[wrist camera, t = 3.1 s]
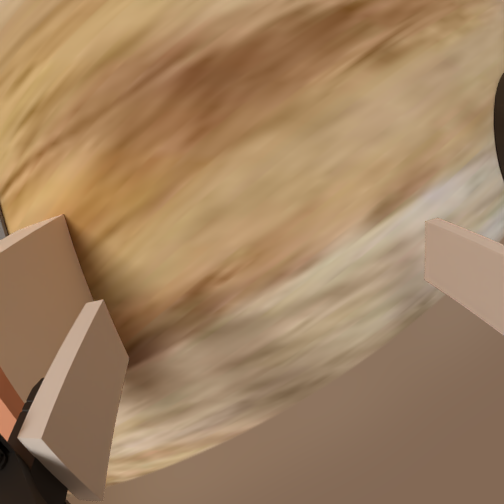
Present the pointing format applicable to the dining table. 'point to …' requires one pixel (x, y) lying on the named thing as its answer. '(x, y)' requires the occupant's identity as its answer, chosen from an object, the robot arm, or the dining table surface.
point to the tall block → (35, 308)
